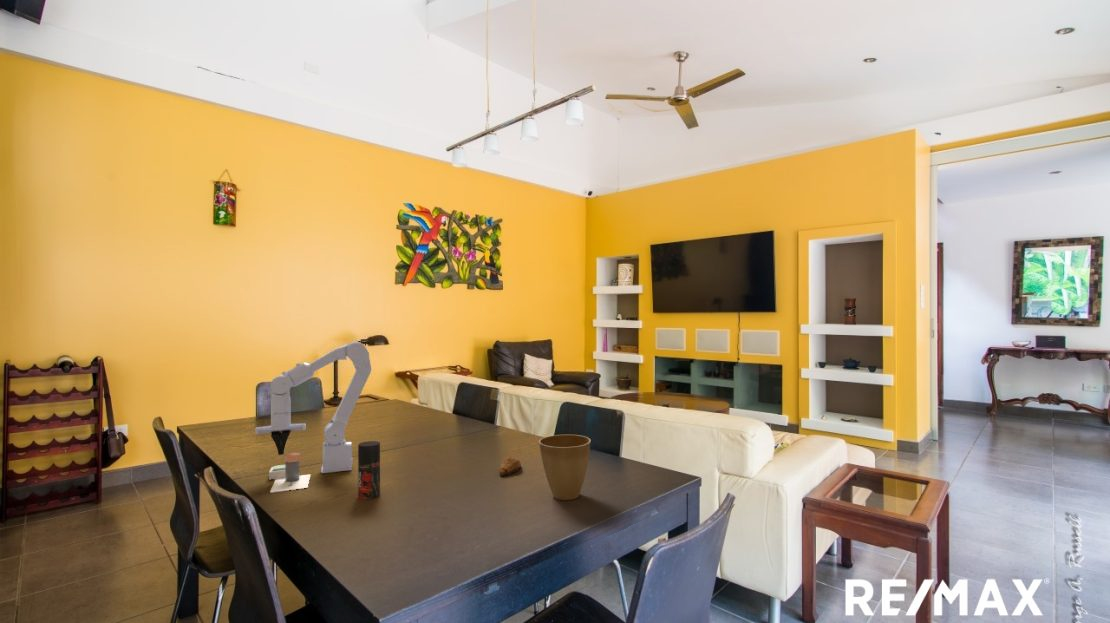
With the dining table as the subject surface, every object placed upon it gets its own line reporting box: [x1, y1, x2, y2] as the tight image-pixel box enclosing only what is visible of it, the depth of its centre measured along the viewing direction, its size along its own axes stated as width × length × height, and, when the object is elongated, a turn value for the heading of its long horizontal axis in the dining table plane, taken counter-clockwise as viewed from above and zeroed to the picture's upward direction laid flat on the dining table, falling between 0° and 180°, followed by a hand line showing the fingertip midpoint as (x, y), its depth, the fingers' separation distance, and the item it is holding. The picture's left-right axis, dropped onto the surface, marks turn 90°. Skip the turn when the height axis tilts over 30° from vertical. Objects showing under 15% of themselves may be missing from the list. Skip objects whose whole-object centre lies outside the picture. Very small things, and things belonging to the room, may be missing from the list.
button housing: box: [268, 466, 285, 481], centre depth 164 cm, size 6×6×2 cm
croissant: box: [498, 456, 522, 477], centre depth 169 cm, size 14×7×5 cm, turn 160°
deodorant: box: [357, 440, 381, 500], centre depth 146 cm, size 6×6×15 cm
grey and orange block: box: [284, 452, 301, 482], centre depth 159 cm, size 4×4×8 cm
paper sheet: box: [269, 473, 312, 494], centre depth 157 cm, size 10×14×1 cm
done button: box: [273, 464, 285, 471], centre depth 164 cm, size 4×4×2 cm
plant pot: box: [538, 434, 592, 501], centre depth 144 cm, size 15×15×16 cm
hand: (281, 454), depth 164 cm, fingers closed
